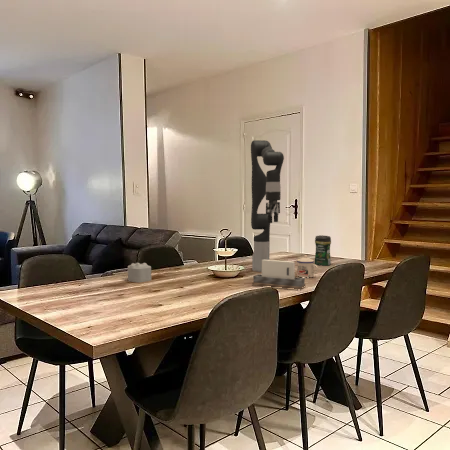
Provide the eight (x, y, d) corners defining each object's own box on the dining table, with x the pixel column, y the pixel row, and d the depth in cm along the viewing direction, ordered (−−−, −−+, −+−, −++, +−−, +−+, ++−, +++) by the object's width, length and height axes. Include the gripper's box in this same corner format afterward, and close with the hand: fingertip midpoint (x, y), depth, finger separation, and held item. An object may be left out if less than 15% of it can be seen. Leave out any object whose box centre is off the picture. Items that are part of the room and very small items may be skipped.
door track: (252, 285, 219) (252, 276, 219) (259, 282, 227) (259, 273, 227) (299, 290, 208) (299, 281, 208) (305, 286, 216) (305, 277, 216)
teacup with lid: (293, 277, 241) (293, 255, 241) (302, 274, 248) (302, 253, 247) (313, 279, 234) (313, 257, 233) (321, 277, 240) (322, 255, 240)
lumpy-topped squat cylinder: (137, 283, 227) (136, 266, 226) (123, 279, 236) (122, 263, 236) (153, 280, 234) (153, 263, 234) (139, 276, 244) (139, 261, 243)
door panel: (261, 282, 220) (261, 260, 219) (263, 281, 222) (263, 259, 222) (292, 285, 213) (292, 262, 212) (294, 284, 215) (294, 261, 214)
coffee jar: (312, 264, 281) (312, 235, 280) (319, 263, 287) (319, 234, 285) (326, 266, 274) (326, 236, 273) (332, 265, 280) (333, 235, 279)
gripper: (271, 191, 237) (271, 221, 239) (261, 191, 225) (261, 223, 226) (284, 190, 234) (284, 221, 235) (275, 191, 221) (275, 223, 223)
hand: (273, 222), depth 231 cm, fingers open, 8 cm apart
